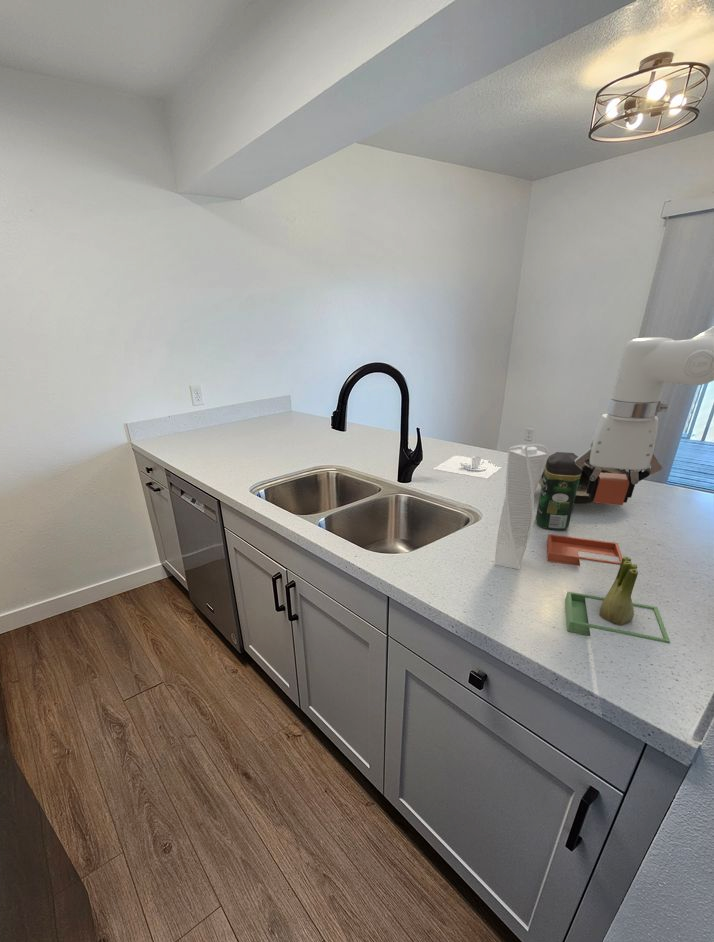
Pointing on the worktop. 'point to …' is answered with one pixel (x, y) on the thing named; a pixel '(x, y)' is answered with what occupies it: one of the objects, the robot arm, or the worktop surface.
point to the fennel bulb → (620, 595)
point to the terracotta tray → (579, 549)
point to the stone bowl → (583, 483)
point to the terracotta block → (611, 488)
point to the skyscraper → (519, 503)
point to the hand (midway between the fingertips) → (607, 497)
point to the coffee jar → (558, 491)
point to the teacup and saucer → (468, 466)
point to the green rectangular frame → (579, 624)
